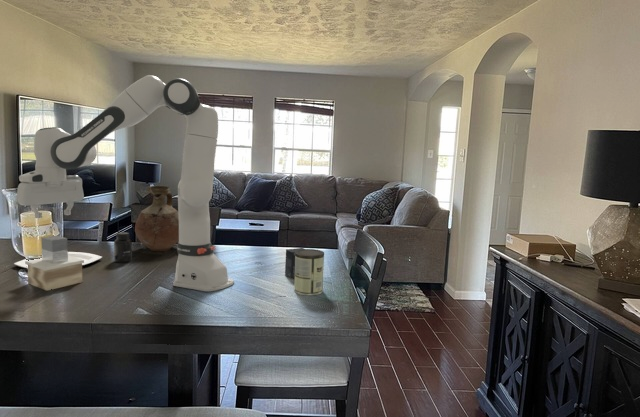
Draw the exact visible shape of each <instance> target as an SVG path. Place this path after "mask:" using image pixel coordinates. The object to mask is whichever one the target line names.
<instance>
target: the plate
mask: <svg viewBox="0 0 640 417" xmlns="http://www.w3.org/2000/svg"><path fill="white" fill-rule="evenodd" d="M68 256H72V257H75V258H78V259H82V260H84V263H82V267H83V266H85V265H89V264H91V263H94V262H97V261H98V260H101V259H102V258H103V256H102V255H101V256H100V255H98V254H94V253H89V252H78V251H77V252H76V251H68ZM26 259H27V258H24V259H22V260H19V261H16V262H14V263H13V265H14V266H17V267H20V268H23V269H27V268H26V266H27V264H25V261H28V260H26Z"/></svg>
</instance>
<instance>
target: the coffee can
mask: <svg viewBox="0 0 640 417" xmlns="http://www.w3.org/2000/svg"><path fill="white" fill-rule="evenodd" d="M324 260H325V252H324V251H323V250H319V249H312V248H304V249H301V250H297V251H295V278H294V287H293V288H294V289H293V291H294V293H296V294H298V295H302V296H318V295H320V294H322V293H323V291H324V290H323V287H324V263H325V262H324Z"/></svg>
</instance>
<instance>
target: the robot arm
mask: <svg viewBox="0 0 640 417" xmlns="http://www.w3.org/2000/svg"><path fill="white" fill-rule="evenodd" d="M160 107H166V108H168V109H169V110H171V111H173V112H174V113H176V114H178V115H181V116H184V117H185V119H186V128H185V129H186V130H185V135H184V136H185V137H184V141H183V142H184V145H183V149H182V150H183V151H182V160H181V161H182V164H181V174H180V175H181V176H180V180H179V182H178V184H177V209H178V210H177V211H178V215H179V241H178V242H177V246H176V249H177V251H176V252H177V254H178V256H177V261H176V266H175V275H174V280H173V282H172V286H174V287H179V288H184V289H189V290H196V291H201V292H214V291H220V290H222V289H226V288H228V287H231V286H232V285H234V284H235V280H234V279H232V278H230V277H229V276H228V275H229V274H228V269H227V266H226V265H225V264H224V263H223V262H222V261H221V260H220V259H219V257H217V255H216V254H215V252H214V250H215V248H216V247H217V246H216V245H215V246H214V245H212V242H211V218H210V215H211V214H210V203H209V202H210V201H211V199H212V196H213V190H214V176H215V161H216V160H215V159H216V151H217V144H218V134H219V116H218V115H219V114H218V112H217V110H216V109H215V108H213V107H212V106H211V105H207V104H203V103H201V101H200V98H199V94H198V91H197V89H196V88H195V87H194V85H193V84H192V83H191V82H190V81H188V80H186V79H184V78H179V77H178V78H173V79H171V80H169V81H168V82H167V83H165V82H163V81H162V79H160V78H159V77H157V76H155V75H151V74H147V75H145V76H143V77H142V78H139V79H138V80H136V81H135V82H133V83H132V84H130V85H129V86H128V87H127V88H125V89H124V90H123V91H121V93H119V94H118V95H117V96H116V97H115V98H114V99H113V100H112V101H111V102H110V104H108V106H106V107H105V109H104V110H102V112H101V113H100V114H98V115H97V116H96V117H94V118H93V119H92V120H91V121H89V122H88V123H86V124H85V125H84V126H83V127H82V128H80V129H79V130H78V131H76V132H75V133H73V134H70V133H69V132H67V131H65V130H64V129H62V127H57V126H56V127H55V126H54V127H45V128H44V127H42V128H39V129H38V130H37V131H35V134H34V143H33V148H34V149H33V150H34V151H33V152H34V156H35V161H36V162H35V165H34V166H35V170H33V171H29V172H26V173H24V174H20V175H19V176H18V179H19V182H20V183H19V184H18V186H17V189H16V190H17V191H16V192H17V193H16V194H17V196H16V200H17V204H19V206H23V207H24V206H25V207H27V206H30V209H31V210H32V212H33V213H34V218H35V219H43V212H39V210H38V208H39V205H50V204H51V205H52V204H60V203H61V204H63V203H65V204H66V205H67V207H66V208H65V209H63V215H64V216H69V215H70V216H71V214H72V213H71V212H72V211H71V210H72V209H73V207H74V205H75V202H83V201H84V198H85V194H84V189H83V179H82V178H81V177H80V176H79V175H77V174H74V175H70V174H69V175H67V170H74V169H75V170H76V169H77V168H81V167H86V166H89V165H90V164H92V163H93V162H94V161H95V160H96V158H97V149H96V147H95V146H97V144H98V143H100V142H101V141H103V140H104V139H105V138H106V137H108V135H111V134H112V133H113V132H115V131H118V130H120V129H125V128H131V127H134V126H135V125H137V124H139V123H140V122H142V121H144V120H145V119H146V118H147V117H149V116H150V115H151V114H153V112H155V111H156V110H157V109H159V108H160Z"/></svg>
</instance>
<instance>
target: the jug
mask: <svg viewBox="0 0 640 417" xmlns="http://www.w3.org/2000/svg"><path fill="white" fill-rule="evenodd" d="M147 191H148V192H149V193H150V195H151V196H152V197H153V199H152V204H151V205H149V206H147V207H146V208H144V209H143V210H141V211H140V213H139V214H138V217H137V218H136V221H135V224H134V232H135V235H136V236H137V239H138V240H139V242H140V243H141V244H143V245H144V246H145V247H147V249H148V248H149V250H150V251H153V252H166V250H167V251H169V250H171V248H172V247H173V246H174V245H176V244H178V242H179V215H178V210H177V209H176V208H174V207H173V195H172V192H171V190H170V186H167V185H150V186H148V188H147ZM165 197H166V198H165ZM165 199H166V200H165Z"/></svg>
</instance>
